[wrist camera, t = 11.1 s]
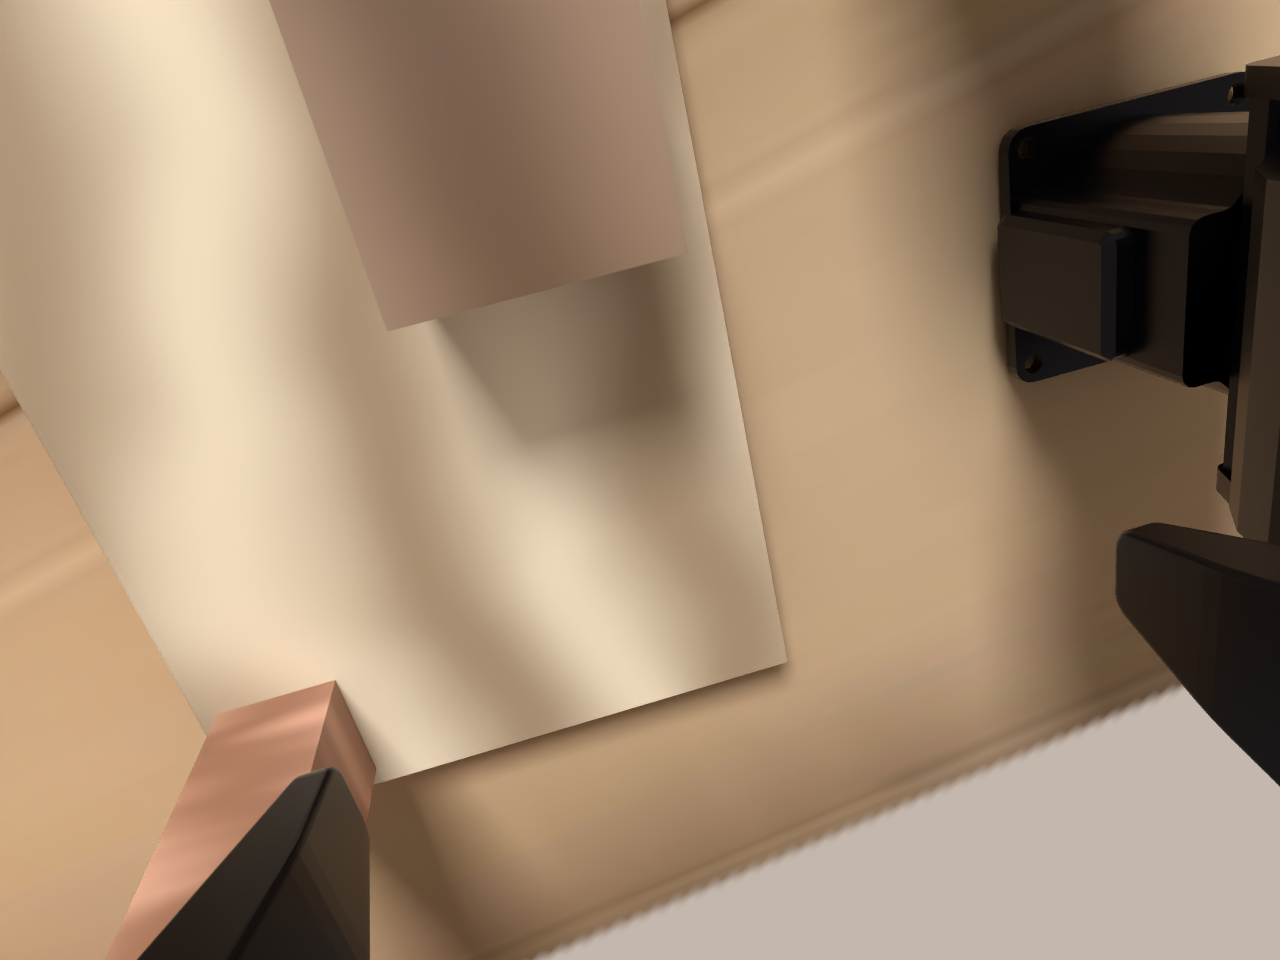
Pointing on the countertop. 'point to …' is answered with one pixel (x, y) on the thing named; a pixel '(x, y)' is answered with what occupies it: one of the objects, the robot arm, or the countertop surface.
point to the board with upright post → (351, 432)
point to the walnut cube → (486, 143)
